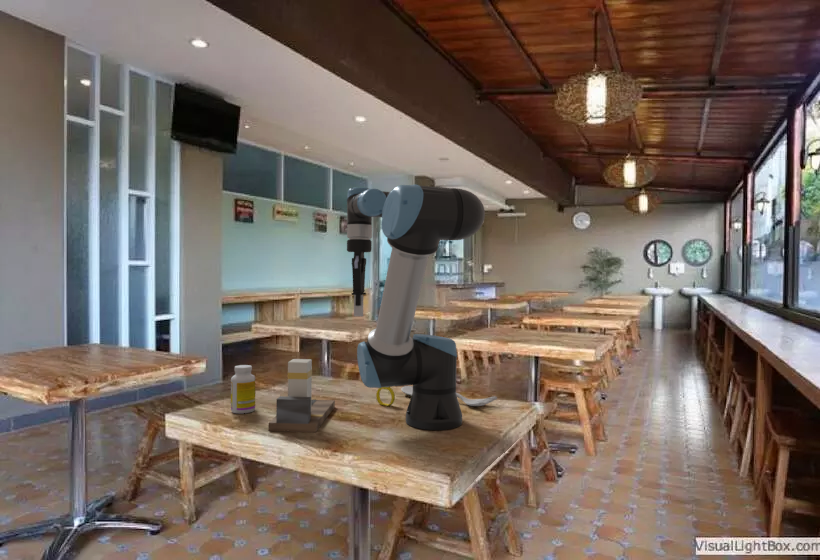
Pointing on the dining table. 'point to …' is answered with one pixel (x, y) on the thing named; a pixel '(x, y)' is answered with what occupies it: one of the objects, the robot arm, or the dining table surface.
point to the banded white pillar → (299, 378)
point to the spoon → (475, 402)
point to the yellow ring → (380, 399)
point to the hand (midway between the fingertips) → (358, 316)
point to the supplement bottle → (243, 390)
